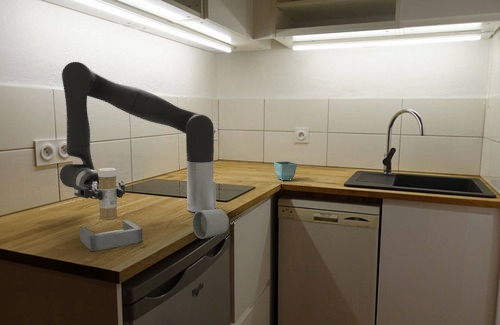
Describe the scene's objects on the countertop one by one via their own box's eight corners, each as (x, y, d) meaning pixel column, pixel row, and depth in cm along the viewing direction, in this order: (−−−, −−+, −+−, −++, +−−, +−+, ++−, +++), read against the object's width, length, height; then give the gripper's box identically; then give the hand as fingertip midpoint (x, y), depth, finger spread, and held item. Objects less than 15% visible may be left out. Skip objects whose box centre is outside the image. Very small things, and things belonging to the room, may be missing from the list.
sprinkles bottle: (112, 215, 106) (111, 166, 104) (120, 218, 103) (119, 169, 101) (96, 218, 103) (94, 168, 101) (104, 222, 100) (102, 170, 98)
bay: (128, 231, 111) (128, 219, 111) (142, 241, 103) (142, 228, 102) (80, 240, 103) (79, 227, 103) (91, 251, 95) (90, 238, 94)
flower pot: (296, 181, 193) (297, 163, 192) (280, 182, 190) (281, 164, 189) (288, 178, 201) (289, 161, 200) (273, 179, 198) (273, 161, 197)
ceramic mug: (231, 235, 109) (231, 208, 108) (207, 242, 103) (207, 213, 102) (208, 227, 116) (208, 202, 115) (185, 233, 111) (185, 207, 110)
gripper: (65, 172, 108) (81, 183, 95) (116, 169, 117) (138, 178, 103) (66, 199, 109) (82, 213, 96) (117, 193, 118) (138, 205, 104)
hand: (111, 194), depth 100 cm, fingers closed on sprinkles bottle, 4 cm apart
